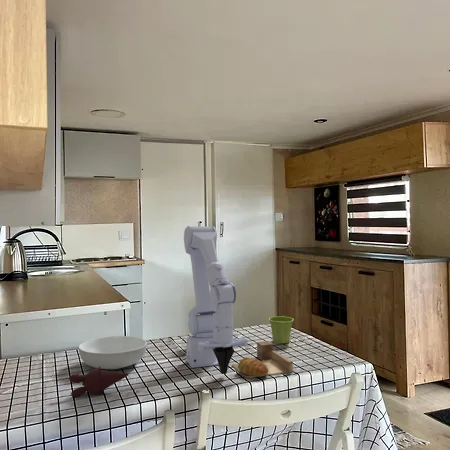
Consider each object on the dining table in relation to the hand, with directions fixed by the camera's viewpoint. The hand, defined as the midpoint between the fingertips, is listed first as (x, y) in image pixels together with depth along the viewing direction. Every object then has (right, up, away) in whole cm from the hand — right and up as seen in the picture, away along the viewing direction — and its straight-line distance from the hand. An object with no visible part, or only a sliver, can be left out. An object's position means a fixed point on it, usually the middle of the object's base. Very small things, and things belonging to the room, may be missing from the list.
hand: (223, 372), depth 126 cm
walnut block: (+14, -1, +18) cm, 23 cm away
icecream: (-33, -2, -11) cm, 35 cm away
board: (+12, -1, +8) cm, 14 cm away
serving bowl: (-35, -2, +12) cm, 37 cm away
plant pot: (+22, -1, +38) cm, 44 cm away
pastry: (+9, -1, +3) cm, 9 cm away
